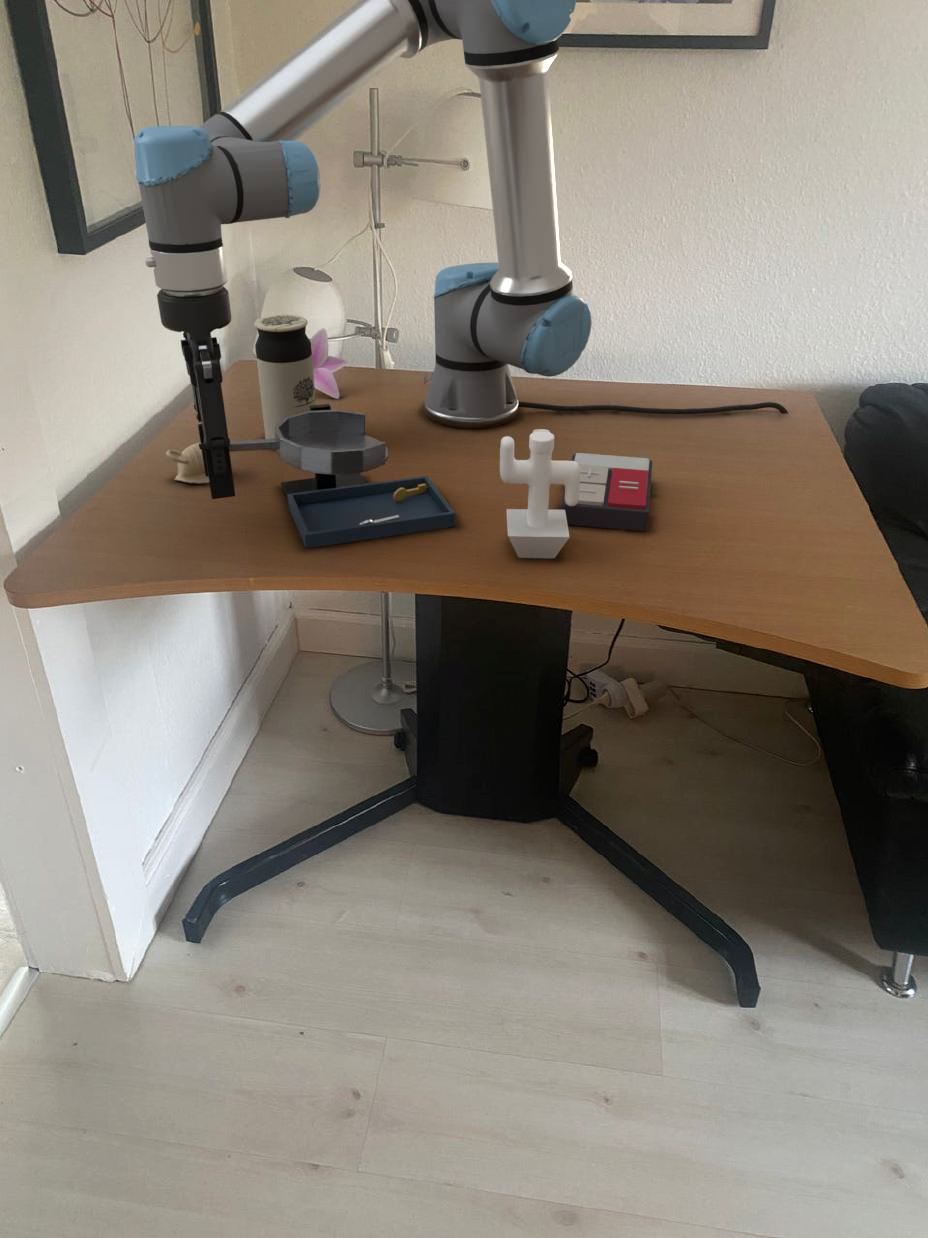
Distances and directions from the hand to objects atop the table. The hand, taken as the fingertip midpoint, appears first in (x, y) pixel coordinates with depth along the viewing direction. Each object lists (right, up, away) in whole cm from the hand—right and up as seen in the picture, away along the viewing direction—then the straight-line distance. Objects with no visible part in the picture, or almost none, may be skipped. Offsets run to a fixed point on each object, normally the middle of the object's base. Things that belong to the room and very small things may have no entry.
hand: (219, 484), depth 115 cm
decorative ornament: (-8, +3, +19) cm, 20 cm away
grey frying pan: (+9, +4, +2) cm, 10 cm away
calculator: (+49, -1, +13) cm, 50 cm away
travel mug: (+3, +11, +31) cm, 33 cm away
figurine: (+38, -8, +2) cm, 39 cm away
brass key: (+23, +1, +12) cm, 26 cm away
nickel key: (+19, -4, +5) cm, 20 cm away
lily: (+3, +22, +49) cm, 54 cm away
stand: (+10, +1, +15) cm, 19 cm away
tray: (+17, -3, +9) cm, 20 cm away
